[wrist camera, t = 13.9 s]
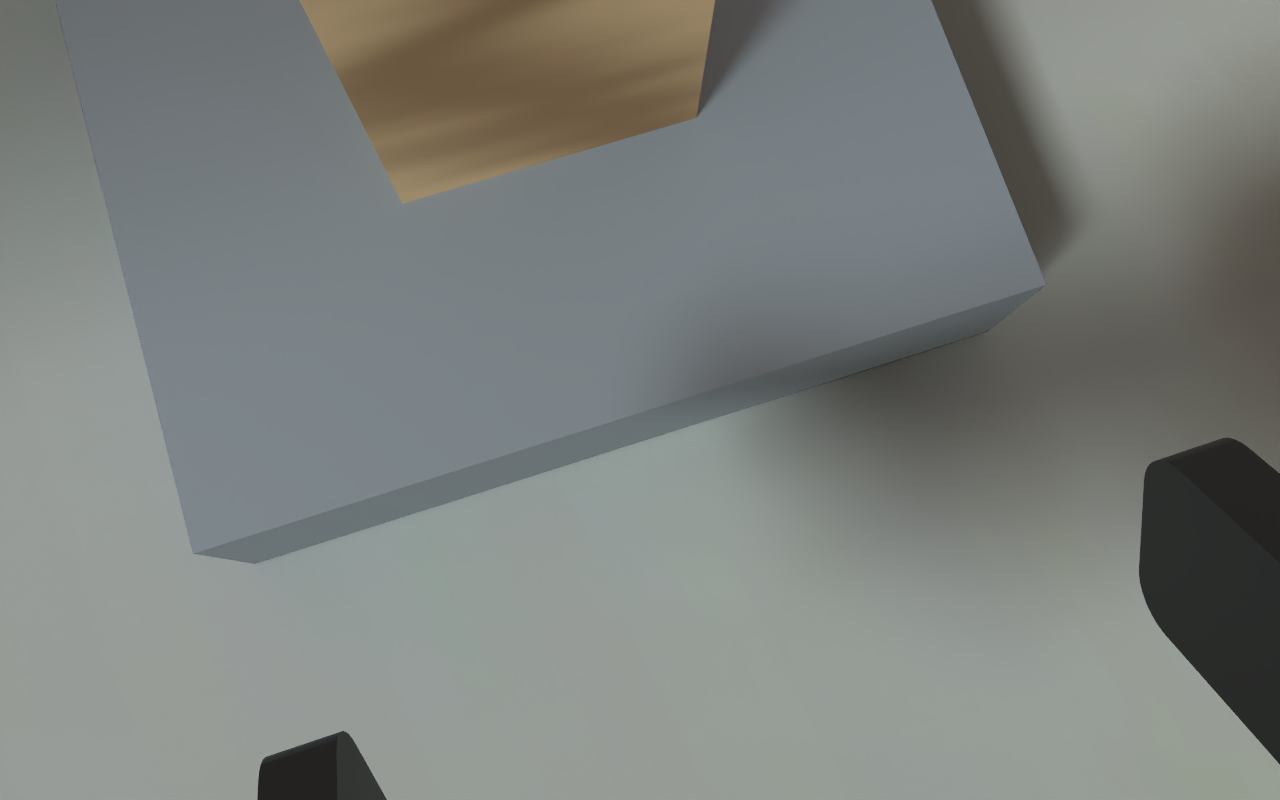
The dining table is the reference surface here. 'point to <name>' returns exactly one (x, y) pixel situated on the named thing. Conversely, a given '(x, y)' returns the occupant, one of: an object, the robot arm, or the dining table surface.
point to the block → (509, 78)
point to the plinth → (519, 257)
